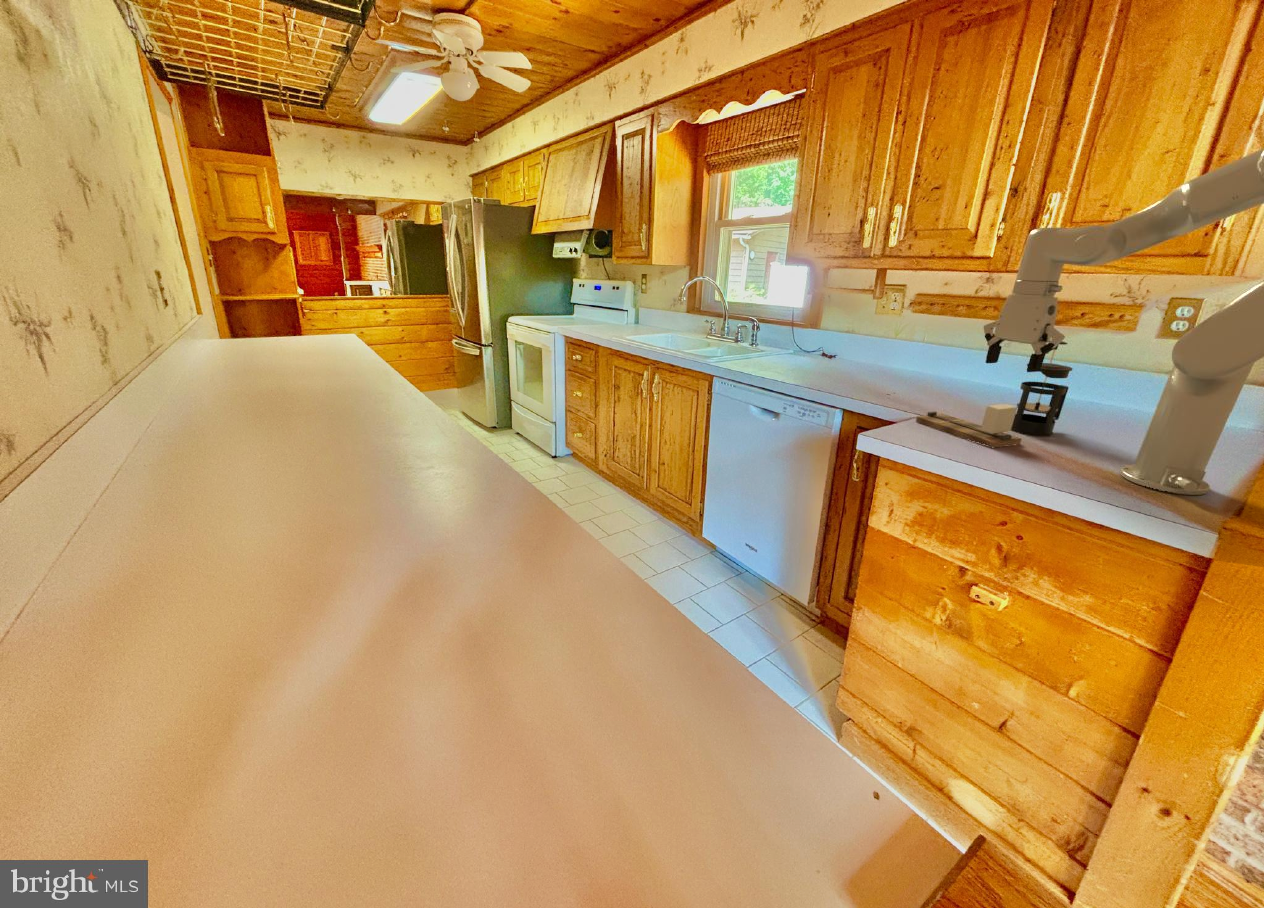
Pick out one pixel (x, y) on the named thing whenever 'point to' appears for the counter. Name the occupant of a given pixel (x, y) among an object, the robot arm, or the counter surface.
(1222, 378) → the robot arm
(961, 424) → the fader board
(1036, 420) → the french press
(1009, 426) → the fader cap
